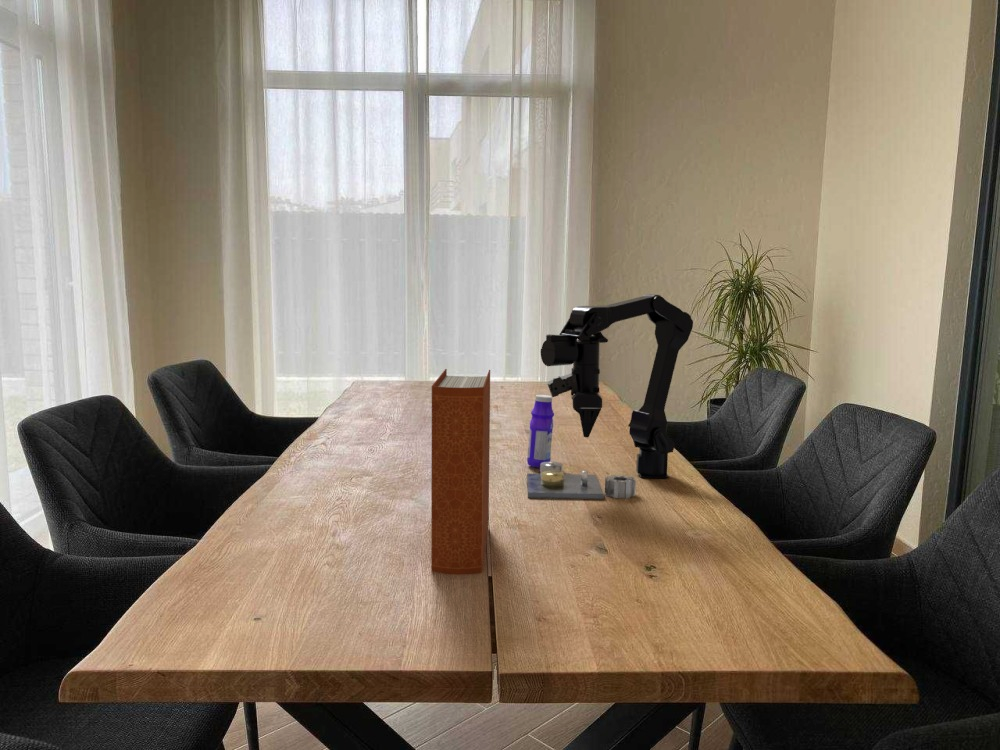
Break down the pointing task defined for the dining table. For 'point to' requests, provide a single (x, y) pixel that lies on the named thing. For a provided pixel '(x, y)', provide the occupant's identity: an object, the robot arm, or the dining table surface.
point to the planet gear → (620, 486)
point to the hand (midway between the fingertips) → (585, 432)
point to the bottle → (540, 431)
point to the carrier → (562, 484)
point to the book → (460, 473)
